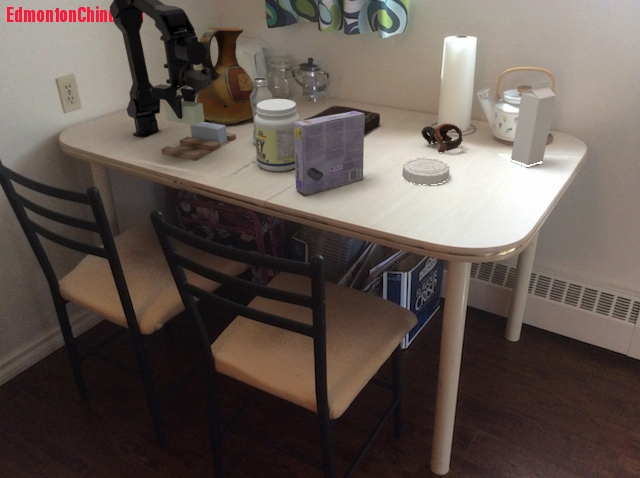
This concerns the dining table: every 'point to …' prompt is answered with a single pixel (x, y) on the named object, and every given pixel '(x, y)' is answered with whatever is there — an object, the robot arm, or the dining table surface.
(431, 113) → the dining table surface
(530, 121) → the milk
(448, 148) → the brown coiled piece
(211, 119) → the ceramic pitcher
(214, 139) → the slate block
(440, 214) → the dining table surface
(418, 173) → the mooncake
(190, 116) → the sage block
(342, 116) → the cake pan box
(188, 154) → the slot rack
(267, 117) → the supplement tub
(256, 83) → the plastic bottle
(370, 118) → the diary
